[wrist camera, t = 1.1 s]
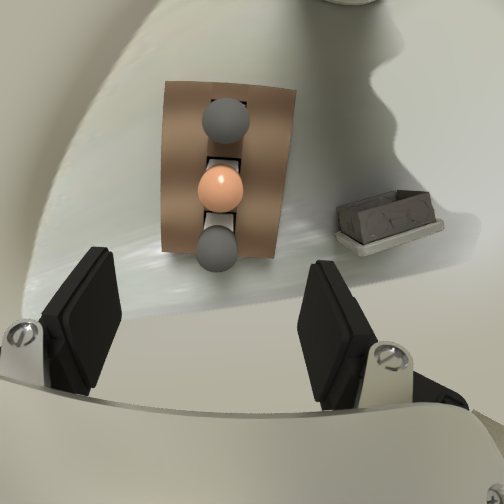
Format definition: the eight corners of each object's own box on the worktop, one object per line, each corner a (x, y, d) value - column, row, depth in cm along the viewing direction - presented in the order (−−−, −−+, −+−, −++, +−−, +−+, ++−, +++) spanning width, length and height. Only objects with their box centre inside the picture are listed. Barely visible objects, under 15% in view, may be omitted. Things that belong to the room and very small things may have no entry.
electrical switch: (334, 239, 35) (363, 275, 26) (324, 196, 33) (353, 220, 24) (405, 217, 34) (448, 245, 25) (399, 175, 32) (444, 193, 23)
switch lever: (210, 97, 24) (203, 96, 18) (248, 100, 24) (252, 99, 19) (207, 134, 25) (200, 142, 20) (244, 136, 25) (247, 145, 20)
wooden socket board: (174, 83, 26) (165, 81, 22) (288, 91, 27) (296, 90, 23) (168, 234, 33) (161, 251, 30) (269, 241, 34) (274, 258, 31)
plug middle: (205, 154, 26) (198, 168, 21) (242, 156, 26) (245, 170, 21) (203, 189, 27) (196, 211, 22) (239, 191, 28) (241, 214, 22)
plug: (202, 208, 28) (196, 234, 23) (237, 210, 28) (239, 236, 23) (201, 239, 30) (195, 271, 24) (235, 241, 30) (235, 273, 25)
